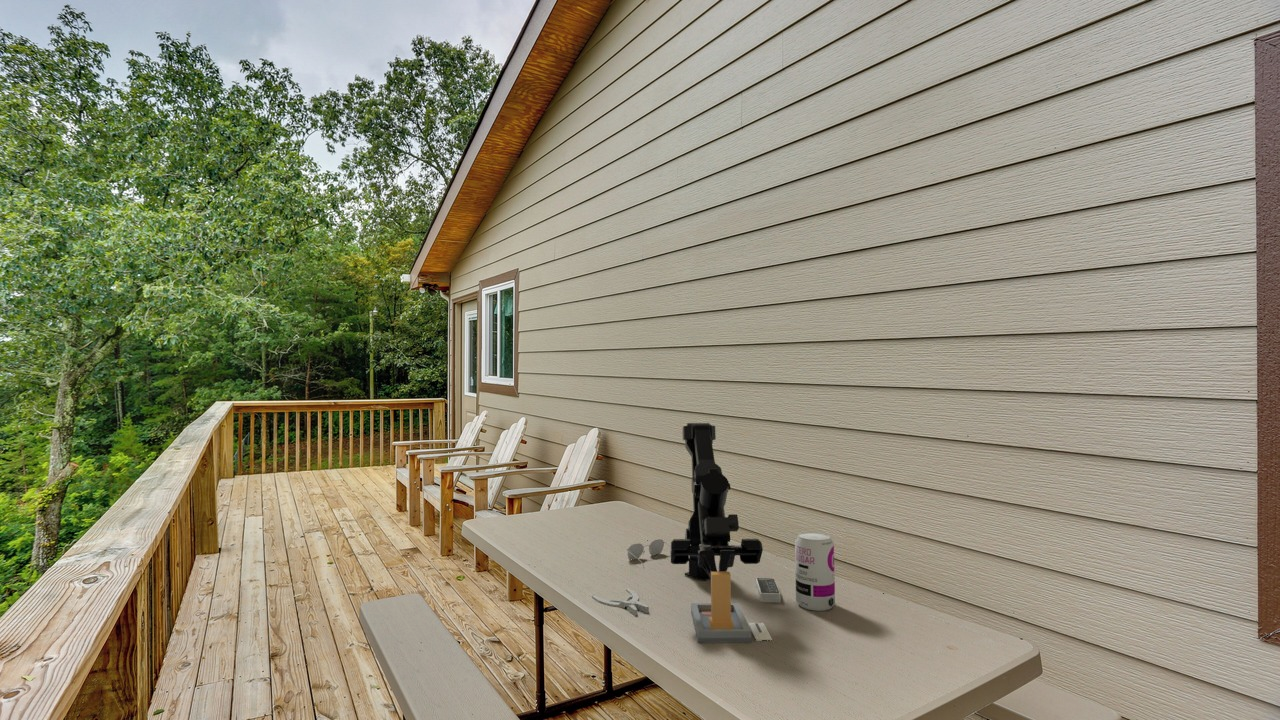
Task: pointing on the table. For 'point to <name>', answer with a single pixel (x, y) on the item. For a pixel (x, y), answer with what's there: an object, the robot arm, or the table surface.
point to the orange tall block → (721, 601)
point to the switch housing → (737, 634)
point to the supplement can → (815, 571)
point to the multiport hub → (767, 590)
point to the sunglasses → (638, 549)
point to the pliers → (626, 603)
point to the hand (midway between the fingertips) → (719, 590)
